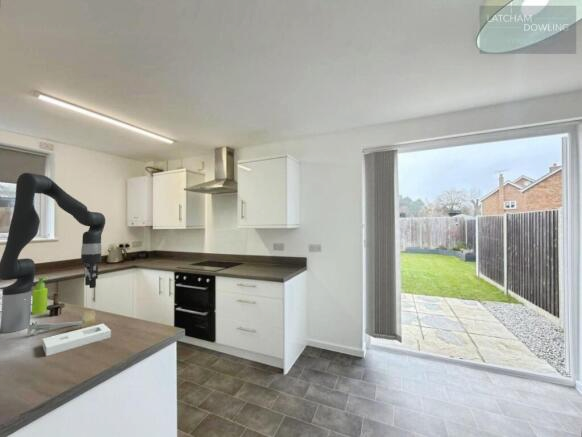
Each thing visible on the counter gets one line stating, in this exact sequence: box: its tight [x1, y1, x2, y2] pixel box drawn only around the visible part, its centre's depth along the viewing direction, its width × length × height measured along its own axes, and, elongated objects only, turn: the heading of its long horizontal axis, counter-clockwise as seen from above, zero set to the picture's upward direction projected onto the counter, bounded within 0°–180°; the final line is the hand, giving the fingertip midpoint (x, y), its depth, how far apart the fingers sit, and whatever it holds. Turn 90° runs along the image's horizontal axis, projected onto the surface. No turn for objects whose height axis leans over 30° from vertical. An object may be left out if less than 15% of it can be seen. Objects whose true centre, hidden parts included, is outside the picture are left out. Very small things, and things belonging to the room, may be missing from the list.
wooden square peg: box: [81, 309, 97, 329], centre depth 114 cm, size 4×4×8 cm
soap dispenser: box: [31, 276, 50, 315], centre depth 136 cm, size 6×7×20 cm
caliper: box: [26, 320, 83, 338], centre depth 113 cm, size 20×1×6 cm, turn 144°
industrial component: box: [46, 292, 66, 317], centre depth 133 cm, size 9×7×12 cm
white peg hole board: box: [41, 323, 112, 357], centre depth 101 cm, size 12×20×3 cm, turn 141°
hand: (90, 286), depth 114 cm, fingers open, 8 cm apart
